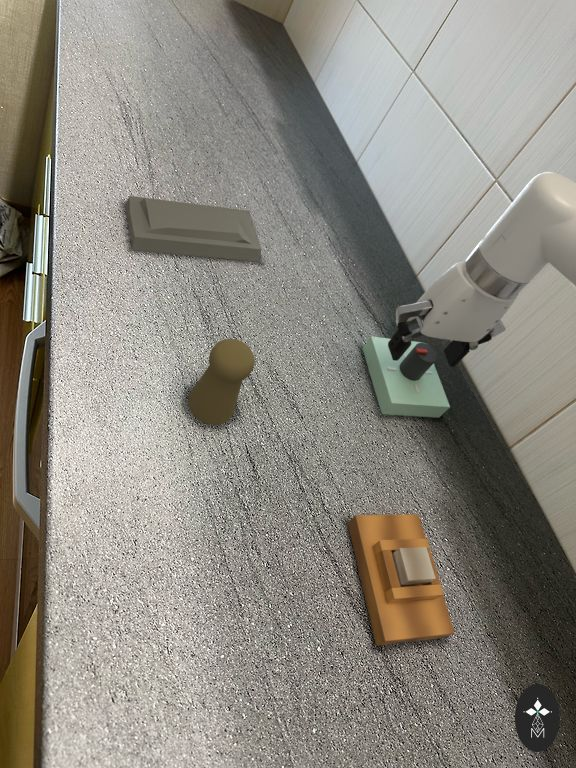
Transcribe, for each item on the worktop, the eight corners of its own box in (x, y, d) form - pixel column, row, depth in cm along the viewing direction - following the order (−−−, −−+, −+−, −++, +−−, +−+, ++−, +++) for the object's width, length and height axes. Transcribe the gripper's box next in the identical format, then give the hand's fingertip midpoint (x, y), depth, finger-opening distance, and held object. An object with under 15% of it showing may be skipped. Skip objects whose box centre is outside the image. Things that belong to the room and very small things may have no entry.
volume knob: (417, 362, 86) (434, 342, 83) (423, 381, 84) (441, 362, 81) (396, 360, 85) (413, 339, 81) (403, 379, 83) (420, 360, 79)
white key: (418, 552, 66) (426, 546, 65) (427, 583, 64) (436, 578, 63) (391, 553, 65) (399, 547, 64) (400, 585, 63) (408, 580, 62)
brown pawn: (192, 426, 69) (216, 373, 61) (183, 385, 72) (205, 329, 64) (239, 423, 72) (267, 372, 64) (228, 383, 75) (254, 330, 67)
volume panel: (416, 354, 92) (426, 342, 90) (439, 417, 86) (451, 406, 83) (362, 348, 88) (371, 335, 86) (381, 414, 82) (392, 402, 79)
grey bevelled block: (259, 261, 92) (266, 245, 89) (132, 250, 83) (135, 231, 80) (246, 218, 97) (252, 201, 94) (124, 203, 88) (128, 184, 86)
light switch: (409, 520, 73) (426, 508, 70) (444, 637, 65) (464, 629, 62) (347, 522, 69) (362, 509, 66) (375, 646, 62) (393, 637, 59)
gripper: (537, 260, 75) (460, 341, 88) (428, 237, 68) (362, 328, 81) (561, 303, 71) (477, 382, 83) (447, 283, 64) (375, 371, 77)
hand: (420, 355), depth 82 cm, fingers open, 9 cm apart
